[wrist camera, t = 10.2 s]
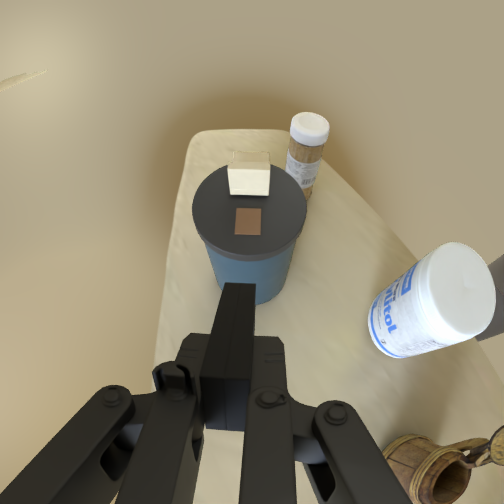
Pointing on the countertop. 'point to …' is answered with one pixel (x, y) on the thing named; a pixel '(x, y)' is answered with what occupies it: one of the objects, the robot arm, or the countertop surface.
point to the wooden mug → (440, 465)
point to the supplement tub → (434, 303)
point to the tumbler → (250, 230)
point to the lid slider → (249, 173)
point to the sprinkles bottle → (306, 148)
